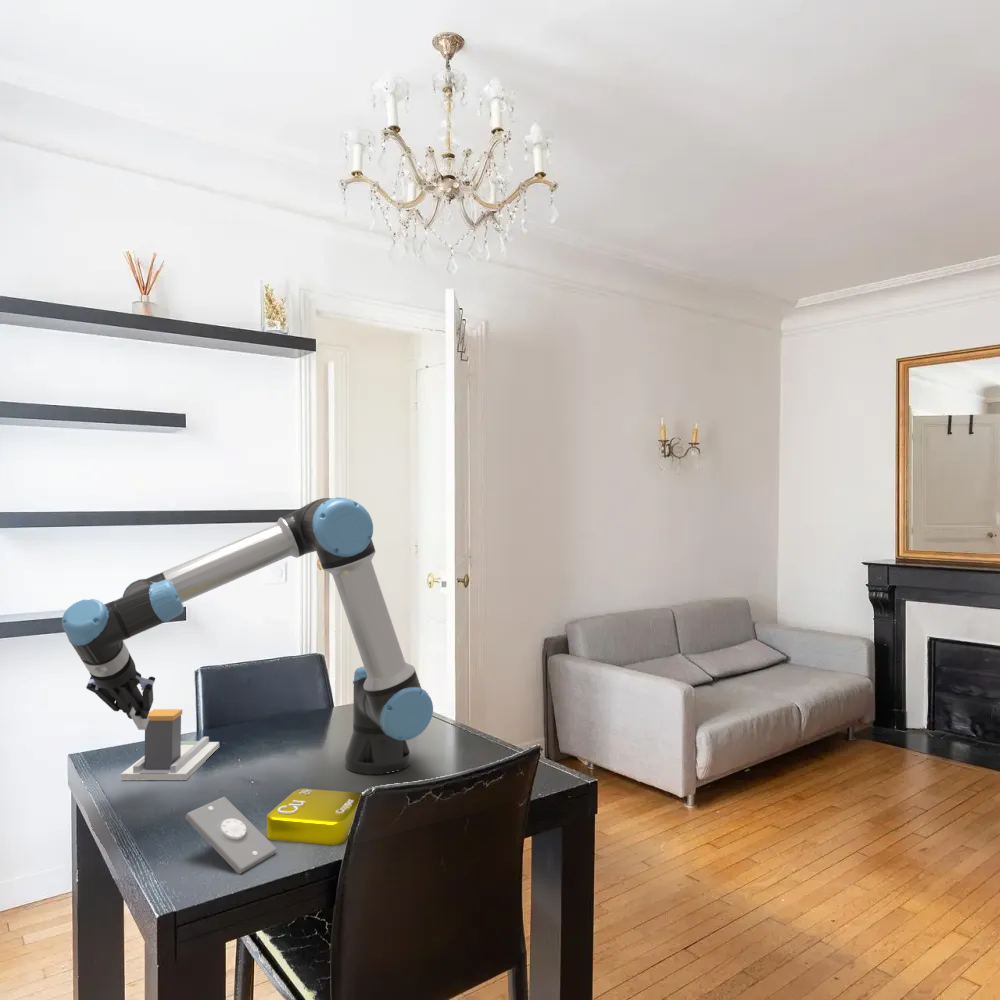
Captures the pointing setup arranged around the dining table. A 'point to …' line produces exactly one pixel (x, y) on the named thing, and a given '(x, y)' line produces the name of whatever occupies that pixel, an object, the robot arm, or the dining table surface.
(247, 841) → the light switch
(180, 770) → the railed base plate
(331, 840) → the element tile
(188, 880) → the dining table surface
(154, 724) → the handle
